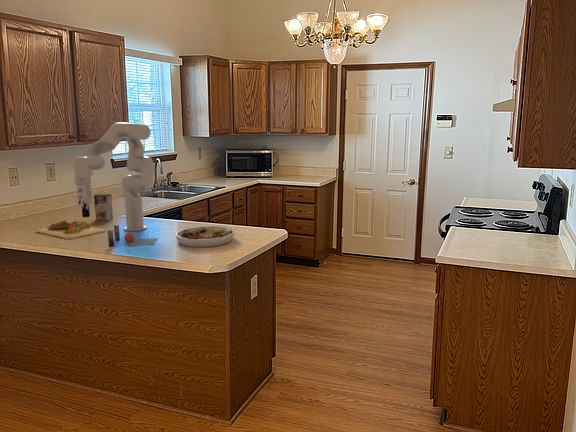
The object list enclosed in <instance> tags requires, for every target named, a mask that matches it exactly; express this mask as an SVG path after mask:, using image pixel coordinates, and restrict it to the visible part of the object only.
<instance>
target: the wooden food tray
mask: <svg viewBox="0 0 576 432" xmlns="http://www.w3.org/2000/svg"><path fill="white" fill-rule="evenodd" d="M35 232H36V233H37V232H40V233H39V234H41V233H45V234H44V235H46V234H49V235H48V236H50V235H54V236H58V237H57V238H59V237H62V238H61V239H63V238H67V239H66V240H74V239H73V238H75V239H78V238H77V237H80V238H83V237H82V236H84V237H88V236H87V235H89V236H92V234H93V235H97V233H98V234H102V233H105V232H106V230H105V228H100V227H95V226H94V227H93V226H91V224H90V223H87V221H85V220H83V221H78V220H74V221H73V222H70V221H67V220H66V219H62V220H60V221H59V222H56V223H52V224H50V225H48V226H47V227H43V228H38V229H36V230H35ZM101 232H102V233H101ZM54 236H53V237H54Z"/></svg>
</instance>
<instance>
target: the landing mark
mask: <svg viewBox="0 0 576 432" xmlns="http://www.w3.org/2000/svg"><path fill="white" fill-rule="evenodd" d="M158 239H159V238H158V237H153V238H151V237H150V238H149V237H148V238H134V241H133V242H130V243H128V242H126V244H125V247H128V246H129V247H132V246H133V247H134V246H135V247H136V246H154V245H155V243H156V242H157V241H158Z"/></svg>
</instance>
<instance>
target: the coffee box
mask: <svg viewBox="0 0 576 432" xmlns="http://www.w3.org/2000/svg"><path fill="white" fill-rule="evenodd" d="M112 197H113V196H112V193H111V194H109V193H98V194H94V195H93V202H94V213H95V220H97V221H110V220H113V219H114V213H113V212H114V211H113V210H114V209H113V200H112V199H113V198H112Z"/></svg>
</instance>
